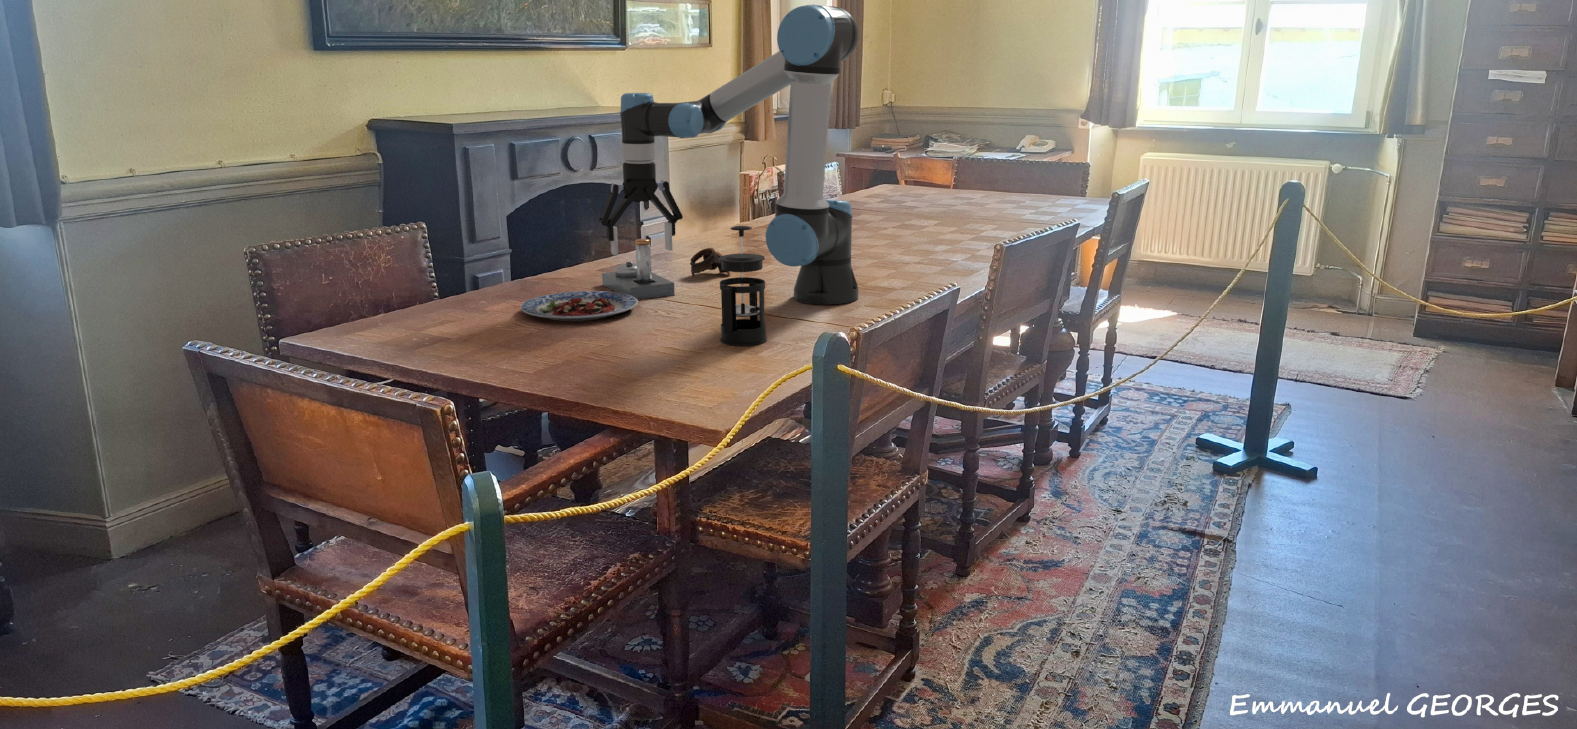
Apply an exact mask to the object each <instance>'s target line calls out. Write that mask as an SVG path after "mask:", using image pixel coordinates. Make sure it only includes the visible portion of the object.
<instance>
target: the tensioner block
mask: <svg viewBox="0 0 1577 729" xmlns="http://www.w3.org/2000/svg"><path fill="white" fill-rule="evenodd" d="M614 268H615V270H614V271H610V272H601V280H602V281H601V282H602V286H604V287H605V288H607V289H609V290H611V291H612V292H617V293H623V294H627V295H630V296H633V297H635V298H636V299H637V300H638V301H640V300H644V299H645V300H646V299H653V298H662V297H672V296H675V282H673V281H671V280H669V279H666V278H665V277H662V276H660V275H658V274H656V273H654V272H652V283H646V284H637V267H636V263H633V261H626V262H625V263H622V264H618V265H615V266H614Z"/></svg>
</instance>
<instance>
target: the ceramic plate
mask: <svg viewBox="0 0 1577 729" xmlns="http://www.w3.org/2000/svg"><path fill="white" fill-rule="evenodd" d="M638 304H639V300H637V299H636V298H635V297H633V296H630V295H627V294H623V293H617V292H615V291H607V290H605V291H602V290H601V291H600V290H579V291H578V290H577V291H564V292H557V293H551V294H545V295H540V296H536V297H533V298H529V299H528V300H526V301H524V302H523V303H522V304H521V305H520V310H521V311H522V312H523V313H525V314H527V315H530V316H532V317H539V318H545V319H548V318H549V320H552V319H553V321H559V320H561V322H585V321H594V320H600V319H604V318H605V319H606V318H609V317H612V316H615V315H616V314H621V313H624V312H627V311H630V310H632V309H634V308H635V307H636V306H638Z"/></svg>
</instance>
